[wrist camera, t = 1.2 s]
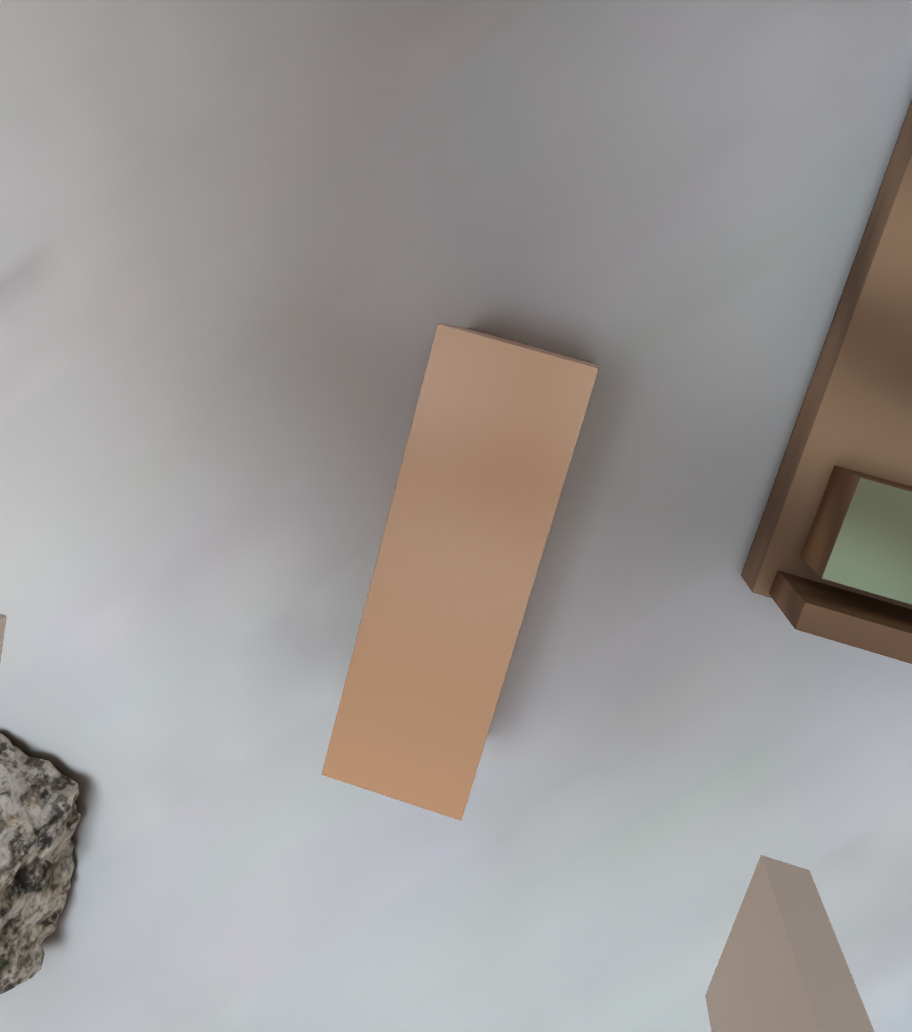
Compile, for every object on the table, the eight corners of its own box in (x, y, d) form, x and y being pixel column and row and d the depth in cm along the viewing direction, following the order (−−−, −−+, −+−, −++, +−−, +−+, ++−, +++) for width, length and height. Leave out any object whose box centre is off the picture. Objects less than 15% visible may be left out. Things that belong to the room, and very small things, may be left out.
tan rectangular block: (467, 328, 29) (437, 324, 23) (596, 364, 29) (598, 368, 23) (368, 697, 32) (321, 774, 26) (484, 734, 32) (461, 820, 26)
